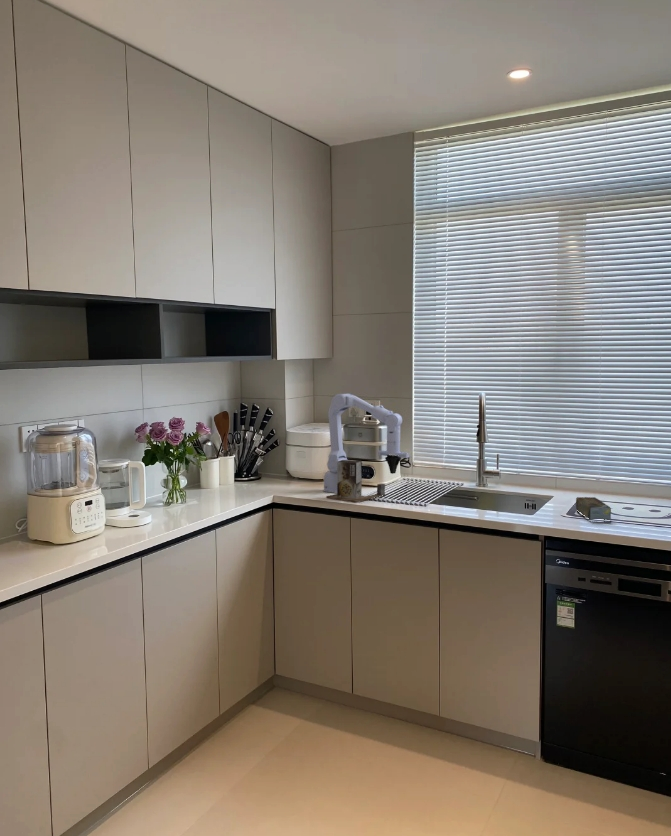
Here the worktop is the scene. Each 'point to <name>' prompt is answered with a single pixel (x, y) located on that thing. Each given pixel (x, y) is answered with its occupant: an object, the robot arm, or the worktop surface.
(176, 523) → the worktop surface
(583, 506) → the beverage carton
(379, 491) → the brown board with post
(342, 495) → the coffee box
